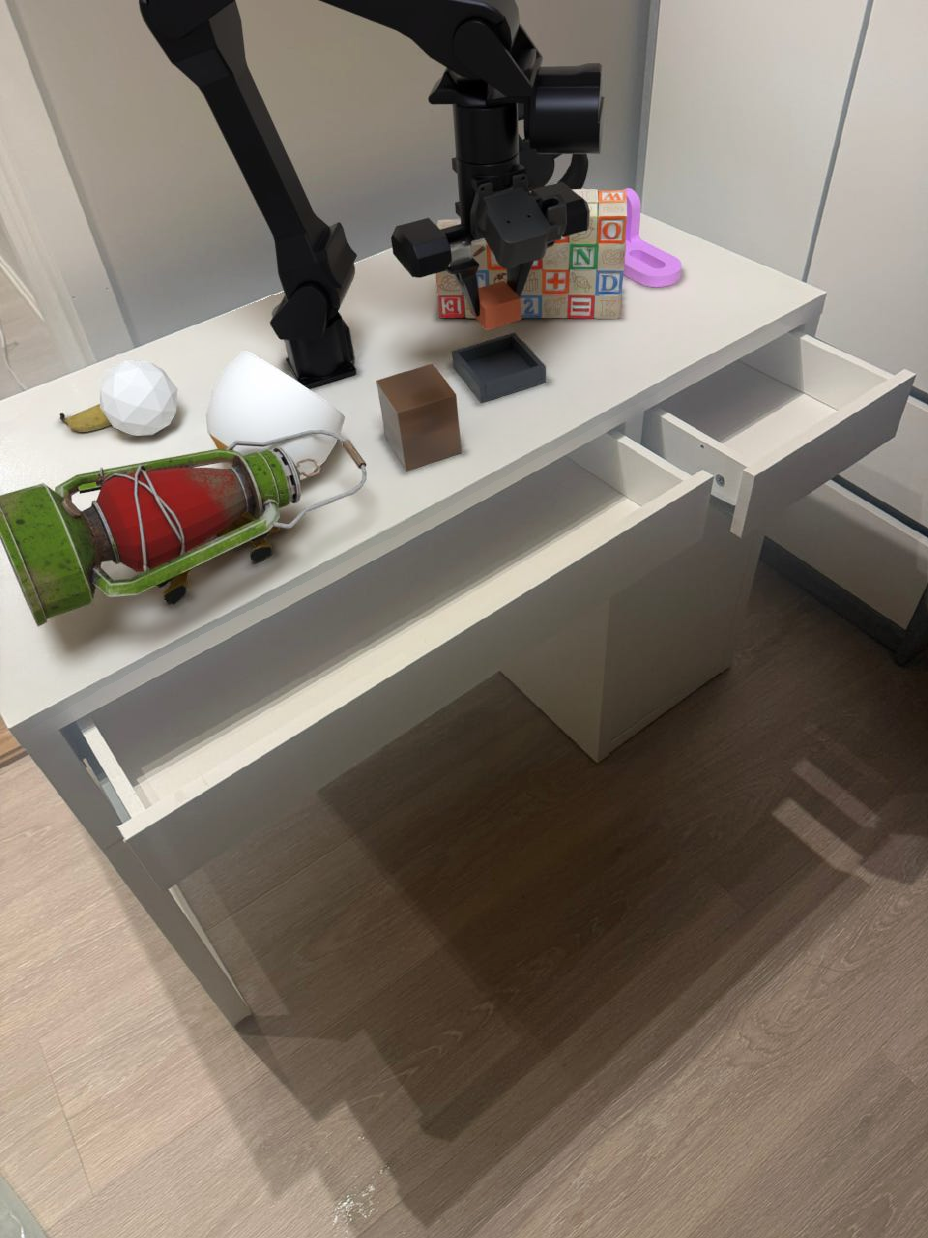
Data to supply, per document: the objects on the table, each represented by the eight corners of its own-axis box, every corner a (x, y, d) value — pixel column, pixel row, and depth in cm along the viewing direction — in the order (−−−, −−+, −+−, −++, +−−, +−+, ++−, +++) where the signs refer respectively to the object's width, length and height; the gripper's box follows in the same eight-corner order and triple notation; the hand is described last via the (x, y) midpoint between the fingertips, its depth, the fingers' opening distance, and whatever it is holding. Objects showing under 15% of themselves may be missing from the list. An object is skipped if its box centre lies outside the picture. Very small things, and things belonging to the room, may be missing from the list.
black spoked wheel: (462, 220, 119) (460, 183, 126) (566, 248, 123) (559, 211, 129) (497, 107, 109) (493, 73, 115) (610, 142, 112) (599, 107, 119)
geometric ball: (167, 435, 102) (184, 365, 99) (167, 454, 95) (186, 379, 92) (94, 415, 99) (111, 342, 96) (89, 433, 92) (106, 355, 89)
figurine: (294, 550, 85) (235, 464, 92) (279, 507, 80) (217, 419, 87) (144, 627, 81) (93, 532, 88) (118, 587, 76) (66, 489, 83)
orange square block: (486, 330, 94) (484, 308, 92) (470, 312, 96) (468, 290, 94) (521, 319, 94) (521, 297, 93) (504, 302, 97) (503, 280, 95)
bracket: (584, 252, 117) (586, 197, 112) (618, 238, 119) (621, 183, 114) (655, 292, 109) (660, 235, 104) (689, 275, 111) (696, 219, 106)
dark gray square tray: (481, 403, 97) (480, 387, 96) (452, 366, 102) (451, 351, 101) (546, 382, 99) (546, 366, 98) (515, 347, 104) (514, 331, 102)
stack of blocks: (438, 320, 109) (428, 217, 99) (444, 292, 113) (435, 191, 104) (621, 318, 106) (628, 213, 97) (620, 290, 110) (627, 187, 101)
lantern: (-36, 453, 69) (323, 357, 82) (2, 545, 78) (322, 446, 90) (21, 583, 63) (400, 459, 75) (55, 668, 72) (391, 544, 84)
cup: (159, 420, 84) (214, 329, 83) (225, 455, 96) (274, 375, 95) (261, 488, 81) (319, 393, 80) (317, 514, 92) (367, 432, 92)
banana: (155, 416, 99) (154, 400, 102) (147, 396, 98) (146, 380, 101) (63, 442, 98) (65, 425, 101) (53, 423, 97) (55, 406, 100)
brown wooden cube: (406, 471, 91) (397, 413, 86) (385, 438, 95) (375, 380, 89) (461, 452, 92) (456, 394, 87) (439, 420, 96) (432, 362, 91)
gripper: (425, 212, 76) (441, 374, 88) (623, 159, 80) (613, 320, 92) (379, 163, 83) (400, 319, 95) (563, 117, 87) (561, 272, 99)
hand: (494, 308), depth 95 cm, fingers closed on orange square block, 4 cm apart
